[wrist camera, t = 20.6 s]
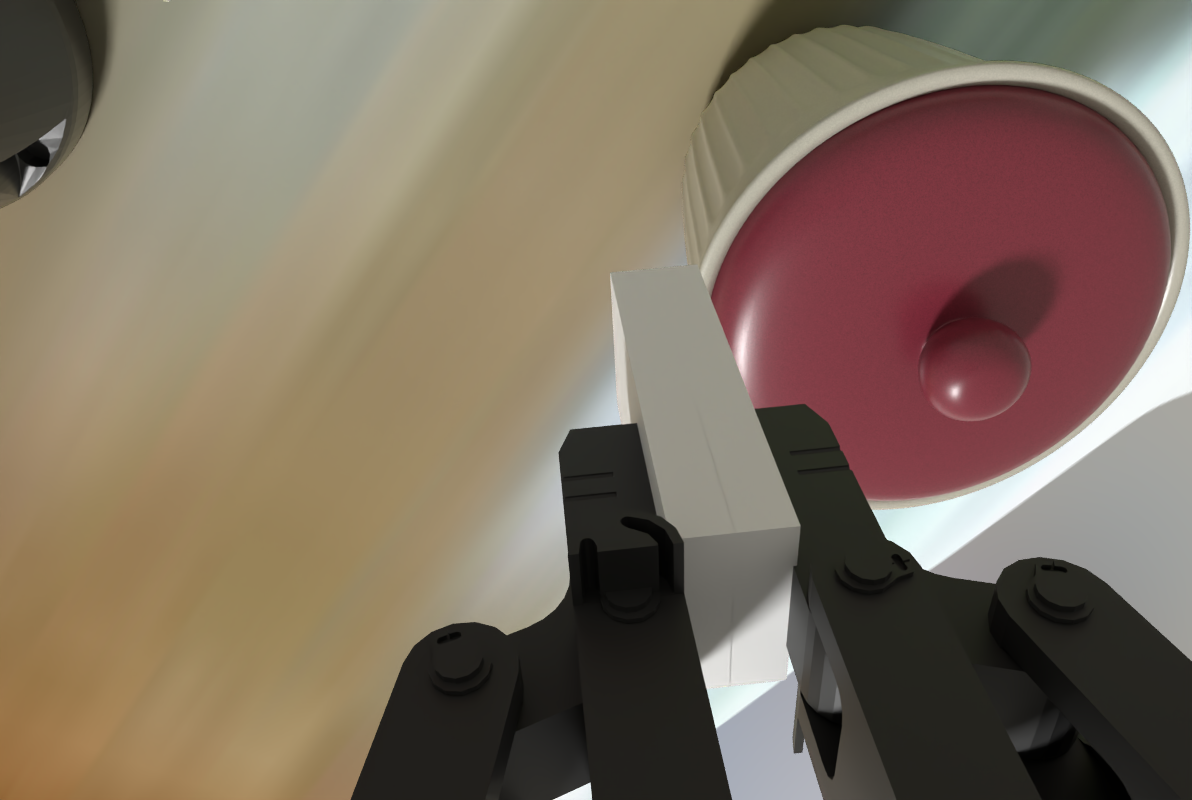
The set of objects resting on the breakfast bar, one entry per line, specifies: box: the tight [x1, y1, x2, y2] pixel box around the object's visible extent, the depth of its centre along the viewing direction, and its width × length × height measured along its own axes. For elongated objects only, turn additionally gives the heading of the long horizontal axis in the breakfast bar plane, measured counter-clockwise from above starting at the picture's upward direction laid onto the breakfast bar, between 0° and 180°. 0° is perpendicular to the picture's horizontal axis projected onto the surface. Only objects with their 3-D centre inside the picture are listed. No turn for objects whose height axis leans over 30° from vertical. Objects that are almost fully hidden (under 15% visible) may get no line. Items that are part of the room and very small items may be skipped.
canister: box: [682, 25, 1190, 510], centre depth 39 cm, size 18×18×21 cm
